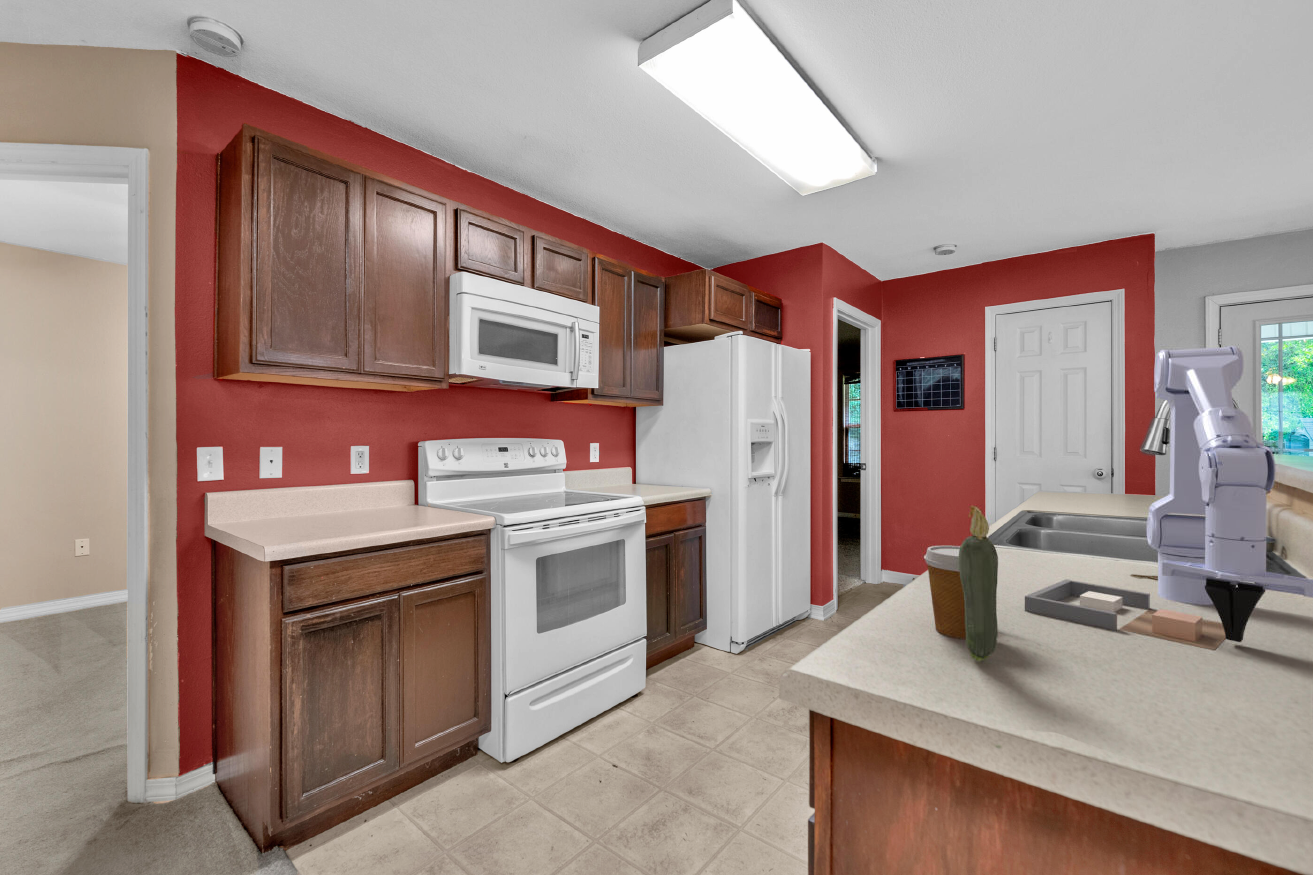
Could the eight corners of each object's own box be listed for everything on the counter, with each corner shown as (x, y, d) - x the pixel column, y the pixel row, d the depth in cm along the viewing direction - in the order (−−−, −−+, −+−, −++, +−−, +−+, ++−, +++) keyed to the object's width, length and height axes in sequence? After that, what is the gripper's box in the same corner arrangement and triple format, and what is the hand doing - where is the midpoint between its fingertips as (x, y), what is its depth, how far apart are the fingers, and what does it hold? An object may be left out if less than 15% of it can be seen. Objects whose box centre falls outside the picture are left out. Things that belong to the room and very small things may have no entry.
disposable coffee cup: (991, 648, 78) (991, 560, 78) (916, 633, 84) (917, 552, 84) (1000, 629, 86) (1000, 549, 86) (931, 617, 92) (931, 542, 92)
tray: (1065, 598, 102) (1066, 579, 102) (1149, 615, 93) (1149, 593, 93) (1024, 617, 92) (1024, 596, 92) (1114, 638, 82) (1114, 614, 82)
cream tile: (1088, 605, 97) (1089, 590, 97) (1122, 612, 93) (1122, 597, 93) (1079, 610, 94) (1079, 595, 94) (1113, 617, 91) (1113, 601, 91)
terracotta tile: (1160, 625, 84) (1160, 608, 84) (1202, 634, 81) (1202, 616, 81) (1152, 632, 82) (1152, 614, 82) (1194, 641, 78) (1195, 622, 78)
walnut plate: (1149, 616, 92) (1149, 609, 92) (1237, 633, 84) (1237, 625, 84) (1118, 637, 83) (1118, 629, 83) (1214, 659, 75) (1214, 649, 75)
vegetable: (1003, 671, 71) (1003, 509, 71) (964, 668, 72) (965, 508, 72) (989, 657, 75) (990, 505, 75) (953, 654, 76) (954, 504, 76)
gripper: (1156, 532, 80) (1155, 630, 80) (1314, 549, 68) (1313, 663, 68) (1169, 528, 84) (1168, 620, 84) (1320, 543, 73) (1319, 650, 73)
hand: (1234, 639), depth 77 cm, fingers closed
